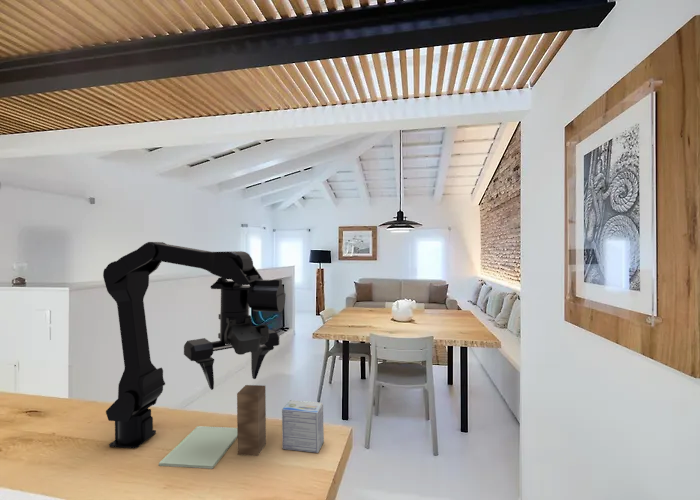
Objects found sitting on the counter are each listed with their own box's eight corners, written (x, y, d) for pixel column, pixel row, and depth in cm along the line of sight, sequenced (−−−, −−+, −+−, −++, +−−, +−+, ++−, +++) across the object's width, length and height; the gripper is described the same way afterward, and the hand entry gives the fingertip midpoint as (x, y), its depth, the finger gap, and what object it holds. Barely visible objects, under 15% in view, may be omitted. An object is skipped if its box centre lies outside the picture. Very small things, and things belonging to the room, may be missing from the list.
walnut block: (237, 454, 70) (237, 393, 70) (246, 442, 74) (245, 384, 74) (258, 455, 70) (257, 394, 70) (265, 443, 74) (265, 385, 74)
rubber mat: (158, 465, 67) (158, 463, 67) (197, 428, 81) (197, 426, 81) (212, 468, 66) (212, 466, 66) (242, 430, 80) (242, 428, 80)
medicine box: (324, 442, 74) (323, 402, 74) (318, 454, 70) (317, 411, 70) (289, 438, 76) (289, 399, 76) (281, 450, 72) (281, 408, 72)
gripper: (201, 322, 61) (199, 410, 61) (292, 311, 73) (291, 384, 73) (183, 312, 69) (182, 390, 69) (268, 304, 81) (267, 370, 81)
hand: (233, 383), depth 73 cm, fingers open, 9 cm apart
